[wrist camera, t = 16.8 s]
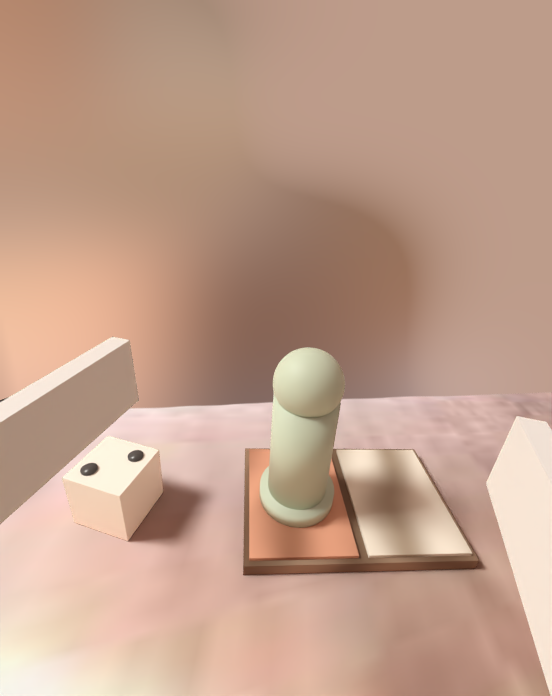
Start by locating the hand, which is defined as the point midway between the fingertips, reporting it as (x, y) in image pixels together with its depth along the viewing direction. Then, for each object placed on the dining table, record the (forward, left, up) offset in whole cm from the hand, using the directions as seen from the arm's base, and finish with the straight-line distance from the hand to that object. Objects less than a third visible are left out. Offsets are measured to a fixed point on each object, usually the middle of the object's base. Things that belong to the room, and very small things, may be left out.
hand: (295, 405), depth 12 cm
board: (+3, -14, -19) cm, 24 cm away
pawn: (+6, -10, -18) cm, 22 cm away
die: (+17, 0, -19) cm, 26 cm away
